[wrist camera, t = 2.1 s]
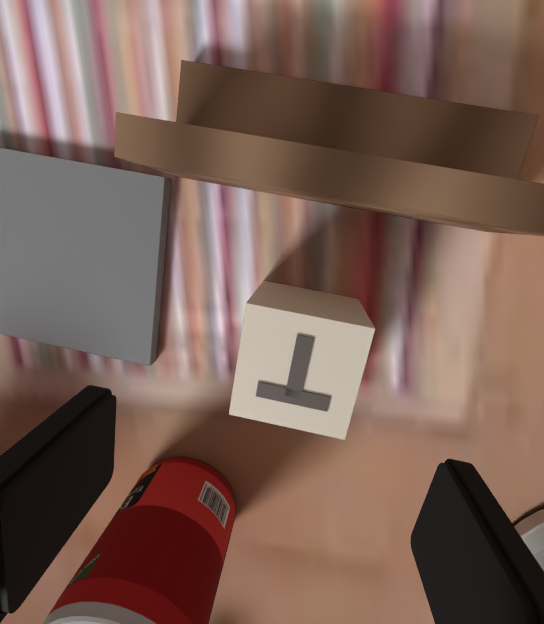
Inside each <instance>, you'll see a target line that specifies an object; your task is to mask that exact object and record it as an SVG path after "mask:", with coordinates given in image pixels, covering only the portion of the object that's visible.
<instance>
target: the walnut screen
mask: <svg viewBox="0 0 544 624" xmlns="http://www.w3.org/2000/svg"><path fill="white" fill-rule="evenodd" d="M538 117H539V116H538V115H531V114H525V113H518V112H512V111H506V110H499V109H493V108H486V107H480V106H473V105H467V104H461V103H454V102H448V101H441V100H435V99H428V98H422V97H416V96H409V95H403V94H396V93H390V92H383V91H377V90H371V89H364V88H358V87H351V86H345V85H338V84H332V83H326V82H319V81H313V80H306V79H300V78H293V77H287V76H281V75H274V74H268V73H261V72H255V71H248V70H242V69H236V68H229V67H223V66H216V65H210V64H203V63H197V62H191V61H184V60H181V71H180V83H179V95H178V107H177V119H176V122H171V121H165V120H159V119H153V118H147V117H141V116H136V115H130V114H124V113H118V112H116V124H115V151H114V157H117V158H120V159H124V160H127V161H130V162H133V163H136V164H140V165H143V166H146V167H149V168H152V169H156V170H159V171H162V172H165V173H168V174H172V175H175V176H178V177H182V178H188V179H193V180H199V181H205V182H210V183H216V184H221V185H227V186H233V187H238V188H244V189H249V190H255V191H261V192H266V193H272V194H278V195H283V196H289V197H294V198H300V199H306V200H311V201H317V202H322V203H328V204H334V205H339V206H345V207H351V208H356V209H362V210H367V211H373V212H379V213H384V214H390V215H395V216H401V217H407V218H412V219H418V220H423V221H429V222H435V223H440V224H446V225H452V226H457V227H463V228H468V229H474V230H480V231H485V232H497V233H510V234H523V235H536V236H544V184H541V183H535V182H529V181H523V180H517V177H518V174H519V171H520V168H521V165H522V163H523V160H524V157H525V154H526V151H527V148H528V146H529V143H530V140H531V137H532V134H533V132H534V129H535V126H536V123H537V120H538Z"/></svg>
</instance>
